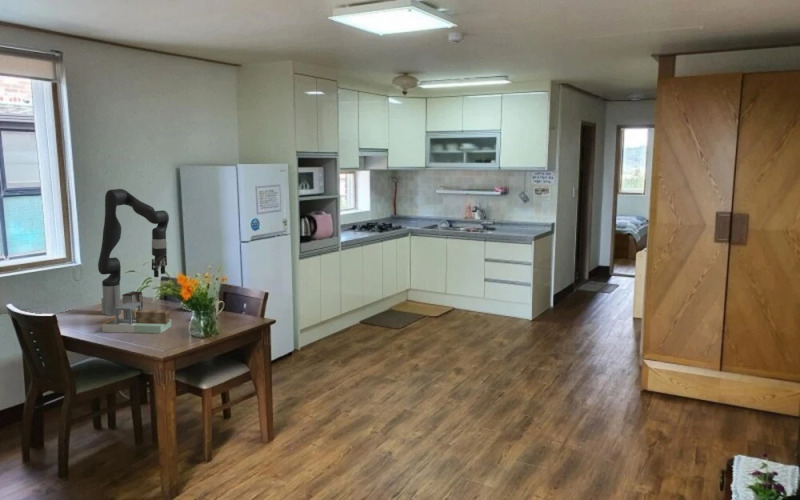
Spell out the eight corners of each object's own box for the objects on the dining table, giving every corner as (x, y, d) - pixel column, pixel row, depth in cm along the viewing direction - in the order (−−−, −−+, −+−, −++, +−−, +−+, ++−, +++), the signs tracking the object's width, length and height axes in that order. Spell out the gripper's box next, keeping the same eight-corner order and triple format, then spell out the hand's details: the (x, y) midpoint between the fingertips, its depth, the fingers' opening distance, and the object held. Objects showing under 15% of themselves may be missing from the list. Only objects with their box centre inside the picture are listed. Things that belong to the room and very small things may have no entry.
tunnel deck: (102, 331, 306) (101, 307, 305) (115, 324, 320) (114, 301, 318) (160, 333, 306) (159, 309, 305) (171, 326, 320) (170, 303, 318)
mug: (216, 322, 329) (215, 302, 327) (199, 321, 331) (199, 301, 329) (225, 318, 340) (224, 298, 338) (209, 316, 341) (208, 296, 340)
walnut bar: (136, 322, 311) (135, 312, 310) (140, 320, 315) (139, 309, 314) (166, 323, 310) (165, 312, 310) (169, 321, 315) (169, 310, 314)
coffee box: (133, 318, 334) (132, 291, 332) (143, 319, 333) (142, 291, 331) (123, 322, 325) (122, 294, 323) (133, 323, 324) (132, 295, 322)
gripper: (158, 244, 327) (158, 272, 329) (146, 248, 313) (147, 277, 315) (171, 245, 327) (171, 273, 329) (160, 249, 312) (160, 278, 315)
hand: (159, 275), depth 322 cm, fingers open, 8 cm apart
